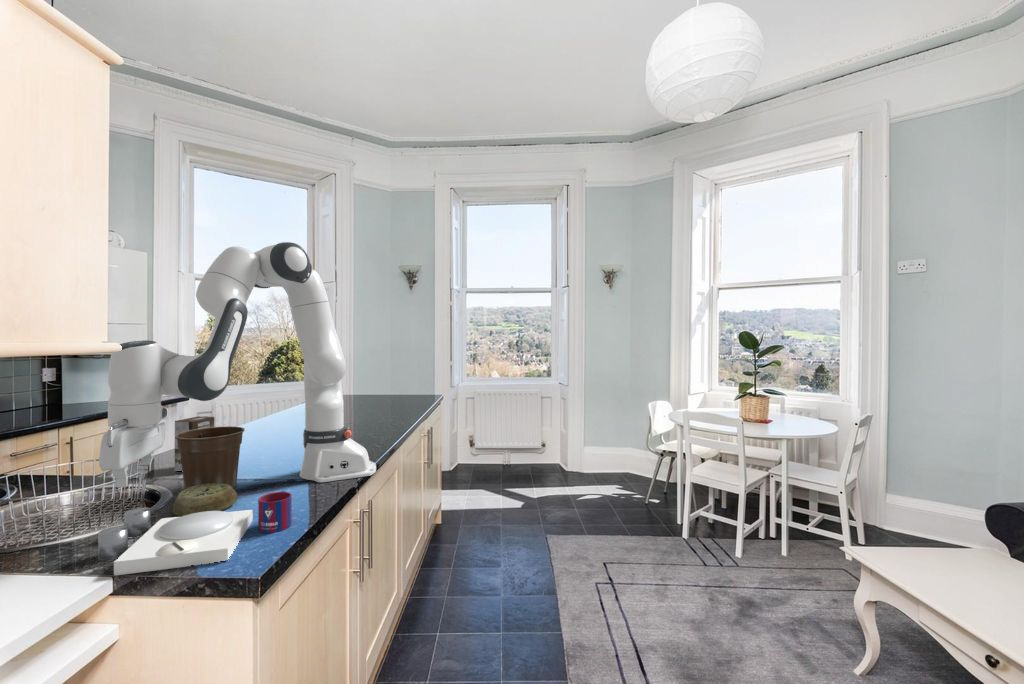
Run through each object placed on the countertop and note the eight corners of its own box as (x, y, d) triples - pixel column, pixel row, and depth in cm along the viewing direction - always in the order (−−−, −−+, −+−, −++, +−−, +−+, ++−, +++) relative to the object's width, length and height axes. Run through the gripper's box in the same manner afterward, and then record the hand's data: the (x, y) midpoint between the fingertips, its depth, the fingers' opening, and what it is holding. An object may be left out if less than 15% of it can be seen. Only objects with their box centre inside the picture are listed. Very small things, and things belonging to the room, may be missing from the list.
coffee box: (192, 473, 141) (191, 421, 141) (173, 472, 142) (173, 421, 142) (215, 464, 150) (215, 416, 150) (197, 463, 151) (197, 415, 151)
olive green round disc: (200, 522, 106) (200, 501, 106) (158, 515, 110) (158, 494, 110) (249, 501, 119) (249, 482, 119) (210, 496, 123) (210, 477, 123)
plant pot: (188, 482, 133) (187, 427, 133) (250, 477, 138) (250, 424, 138) (165, 502, 117) (164, 440, 117) (236, 495, 123) (236, 436, 122)
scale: (252, 520, 107) (252, 506, 107) (226, 562, 87) (226, 545, 87) (161, 529, 101) (161, 514, 101) (112, 577, 82) (112, 558, 82)
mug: (252, 533, 100) (252, 502, 100) (273, 515, 110) (273, 487, 110) (284, 532, 100) (284, 502, 100) (302, 514, 110) (302, 486, 110)
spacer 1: (132, 549, 92) (132, 524, 92) (121, 559, 88) (120, 533, 88) (105, 552, 91) (105, 527, 91) (93, 562, 87) (92, 536, 87)
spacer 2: (154, 528, 102) (154, 506, 102) (145, 537, 98) (144, 514, 98) (130, 531, 101) (130, 508, 101) (120, 539, 96) (120, 516, 96)
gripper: (128, 424, 90) (127, 494, 90) (171, 408, 109) (170, 465, 109) (88, 425, 88) (87, 497, 88) (140, 408, 107) (139, 467, 108)
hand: (134, 479), depth 99 cm, fingers open, 8 cm apart
